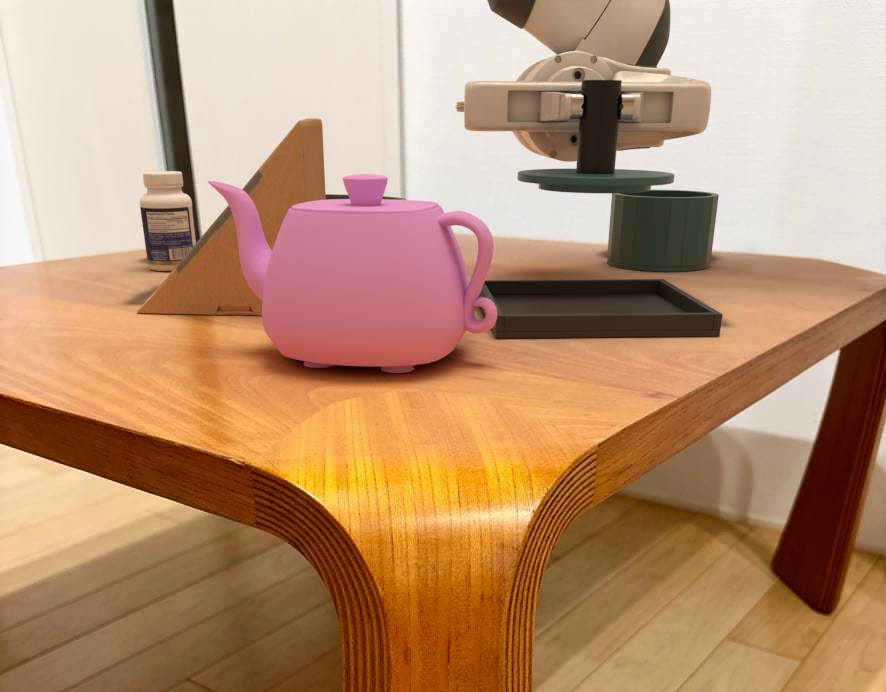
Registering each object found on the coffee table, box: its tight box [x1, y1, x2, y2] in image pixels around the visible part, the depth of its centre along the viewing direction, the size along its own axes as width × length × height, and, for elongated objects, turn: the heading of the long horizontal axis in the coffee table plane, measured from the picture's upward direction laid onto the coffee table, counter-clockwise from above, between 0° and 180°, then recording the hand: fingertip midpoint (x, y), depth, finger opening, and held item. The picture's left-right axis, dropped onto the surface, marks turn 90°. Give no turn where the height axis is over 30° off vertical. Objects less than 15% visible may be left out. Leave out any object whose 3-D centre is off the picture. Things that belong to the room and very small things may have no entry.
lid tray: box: [478, 278, 723, 339], centre depth 76 cm, size 17×16×2 cm
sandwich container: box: [136, 117, 326, 316], centre depth 77 cm, size 9×15×15 cm, turn 86°
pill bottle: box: [139, 170, 198, 272], centre depth 98 cm, size 5×5×10 cm
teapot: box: [207, 173, 497, 374], centre depth 61 cm, size 20×13×12 cm, turn 76°
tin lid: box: [516, 80, 675, 194], centre depth 71 cm, size 12×12×8 cm
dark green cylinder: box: [606, 189, 720, 273], centre depth 102 cm, size 11×11×8 cm
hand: (602, 106), depth 69 cm, fingers closed on tin lid, 3 cm apart
